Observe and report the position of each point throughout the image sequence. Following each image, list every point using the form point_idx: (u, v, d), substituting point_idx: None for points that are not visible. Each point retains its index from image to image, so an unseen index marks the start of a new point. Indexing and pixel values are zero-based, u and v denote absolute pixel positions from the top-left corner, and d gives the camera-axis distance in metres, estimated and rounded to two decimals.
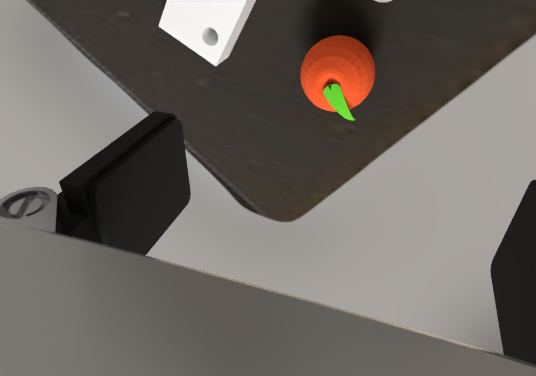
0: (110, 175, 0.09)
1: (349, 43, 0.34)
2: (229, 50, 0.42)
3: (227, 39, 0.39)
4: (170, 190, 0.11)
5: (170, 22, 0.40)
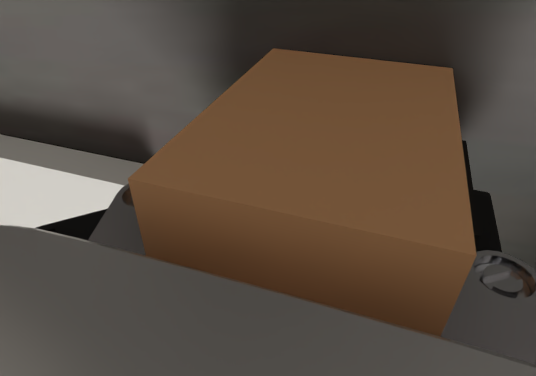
0: None
1: None
2: None
3: None
4: None
5: None
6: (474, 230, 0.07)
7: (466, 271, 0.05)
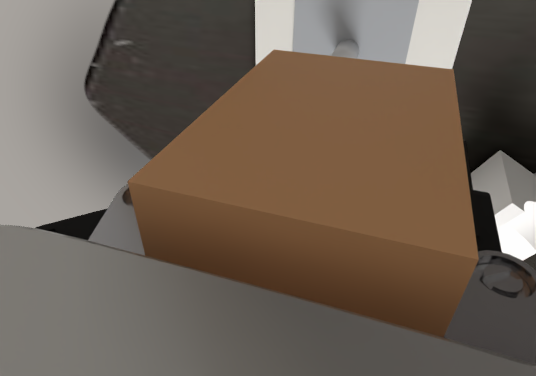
0: None
1: None
2: None
3: None
4: None
5: None
6: None
7: (468, 276, 0.05)
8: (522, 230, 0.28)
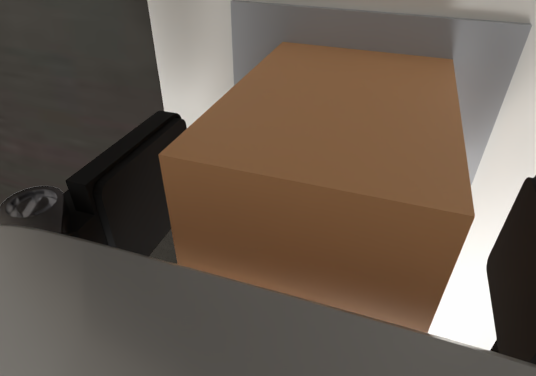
0: (116, 174, 0.09)
1: None
2: None
3: None
4: None
5: None
6: None
7: (466, 233, 0.06)
8: None
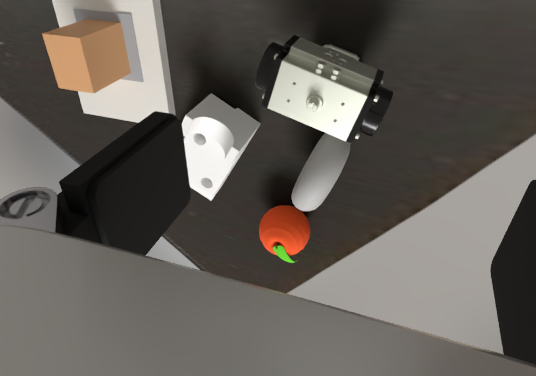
0: (110, 175, 0.09)
1: (290, 218, 0.51)
2: None
3: (219, 186, 0.53)
4: (170, 190, 0.11)
5: None
6: None
7: (81, 41, 0.41)
8: (216, 138, 0.47)
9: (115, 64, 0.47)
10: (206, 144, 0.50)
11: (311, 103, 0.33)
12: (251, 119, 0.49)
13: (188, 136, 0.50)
